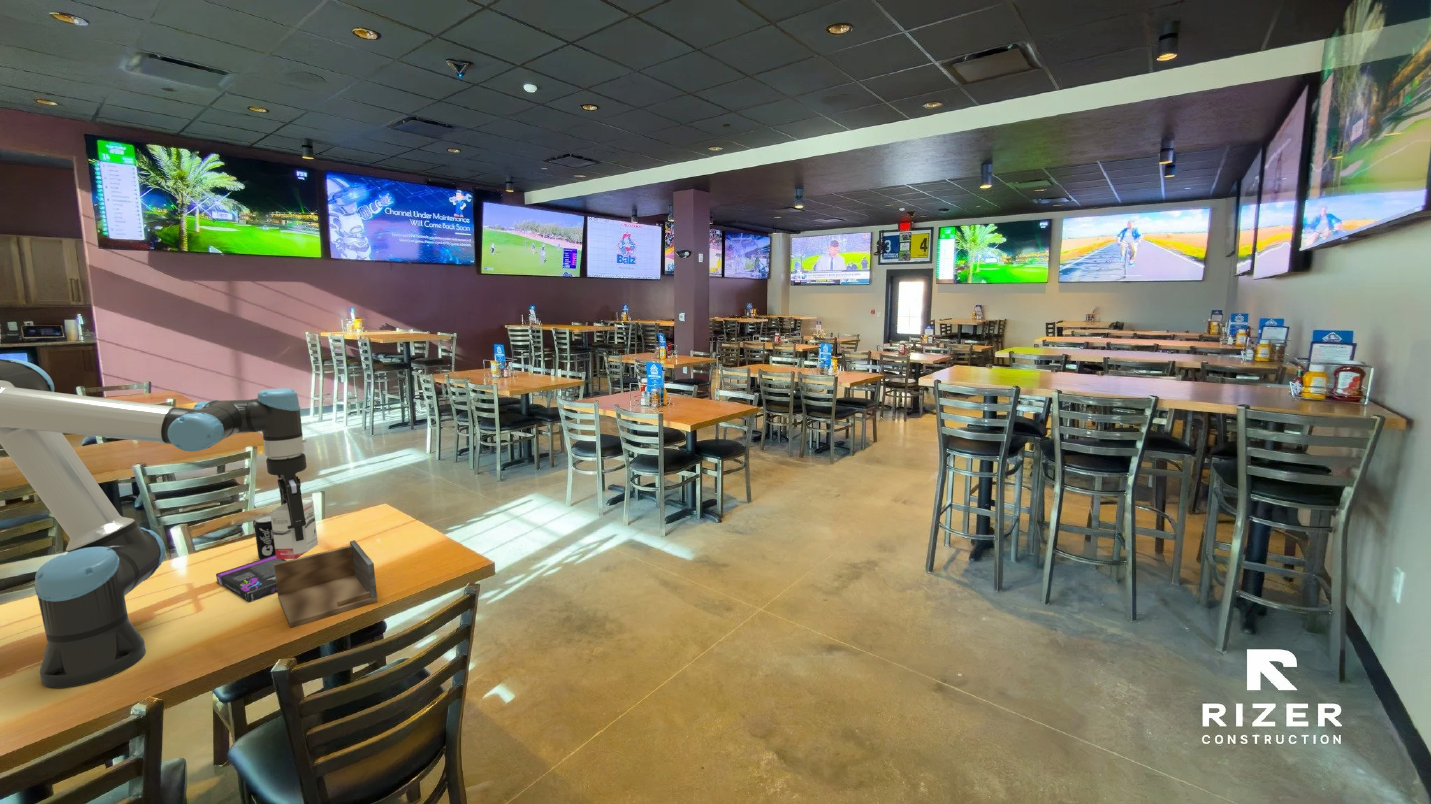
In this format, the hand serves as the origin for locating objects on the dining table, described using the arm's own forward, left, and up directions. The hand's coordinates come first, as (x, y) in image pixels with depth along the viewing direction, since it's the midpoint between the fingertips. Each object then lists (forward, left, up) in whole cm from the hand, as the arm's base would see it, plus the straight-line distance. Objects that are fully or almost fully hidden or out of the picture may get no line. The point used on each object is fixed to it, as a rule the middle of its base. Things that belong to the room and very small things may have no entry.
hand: (297, 546), depth 146 cm
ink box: (0, 0, -2) cm, 2 cm away
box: (-6, +23, -17) cm, 29 cm away
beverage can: (-2, +40, -16) cm, 43 cm away
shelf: (+5, +1, -16) cm, 17 cm away
